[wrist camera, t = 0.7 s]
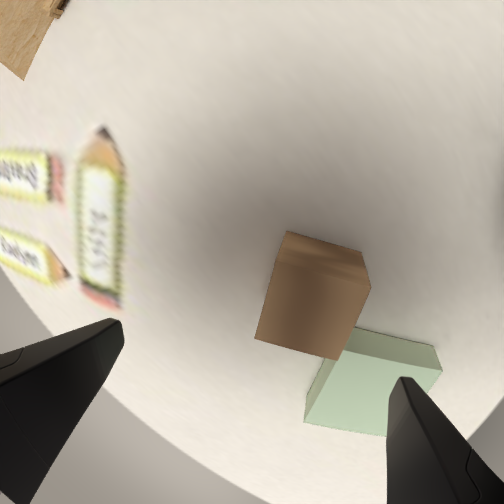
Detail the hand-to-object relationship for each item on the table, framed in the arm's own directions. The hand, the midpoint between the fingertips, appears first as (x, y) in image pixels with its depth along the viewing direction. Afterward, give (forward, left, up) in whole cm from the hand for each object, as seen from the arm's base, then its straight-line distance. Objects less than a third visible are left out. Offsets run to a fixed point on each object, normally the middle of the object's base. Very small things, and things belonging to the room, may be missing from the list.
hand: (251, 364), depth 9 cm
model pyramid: (+30, -19, -13) cm, 38 cm away
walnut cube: (-2, +2, -12) cm, 13 cm away
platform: (-9, +9, -12) cm, 18 cm away
